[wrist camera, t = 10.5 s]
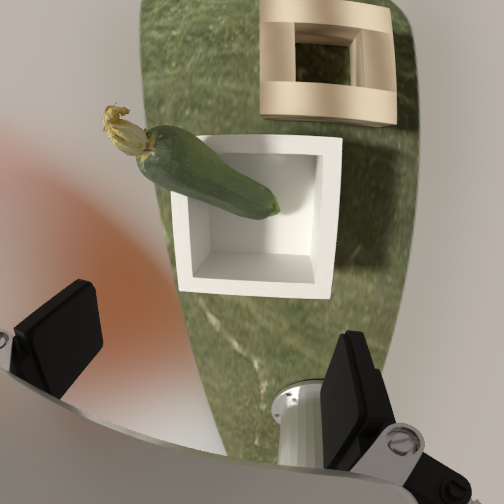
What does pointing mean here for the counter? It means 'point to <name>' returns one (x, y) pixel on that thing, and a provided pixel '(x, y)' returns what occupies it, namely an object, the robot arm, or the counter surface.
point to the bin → (265, 221)
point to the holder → (328, 33)
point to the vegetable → (189, 167)
